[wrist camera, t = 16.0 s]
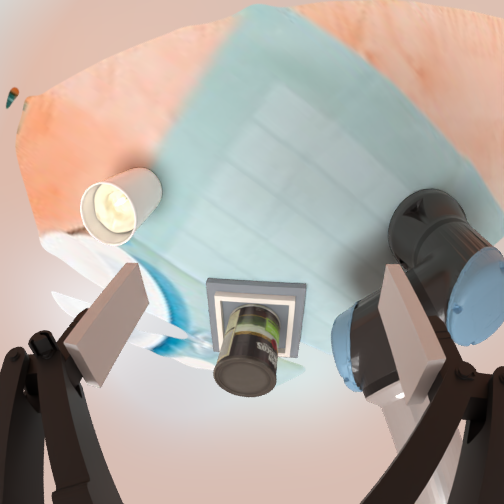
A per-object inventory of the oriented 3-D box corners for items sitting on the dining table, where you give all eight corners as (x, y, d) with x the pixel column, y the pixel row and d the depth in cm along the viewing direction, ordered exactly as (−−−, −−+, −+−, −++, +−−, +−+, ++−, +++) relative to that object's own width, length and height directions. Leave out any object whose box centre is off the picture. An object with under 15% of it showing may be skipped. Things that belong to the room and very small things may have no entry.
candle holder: (159, 157, 48) (124, 175, 37) (173, 211, 52) (144, 242, 42) (111, 169, 50) (71, 190, 39) (126, 219, 54) (92, 249, 43)
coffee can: (264, 295, 56) (256, 351, 44) (289, 333, 60) (287, 389, 47) (218, 313, 59) (200, 367, 47) (245, 348, 63) (234, 402, 51)
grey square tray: (305, 283, 56) (306, 293, 53) (297, 352, 64) (297, 362, 62) (207, 278, 58) (204, 287, 55) (215, 346, 66) (212, 356, 63)
